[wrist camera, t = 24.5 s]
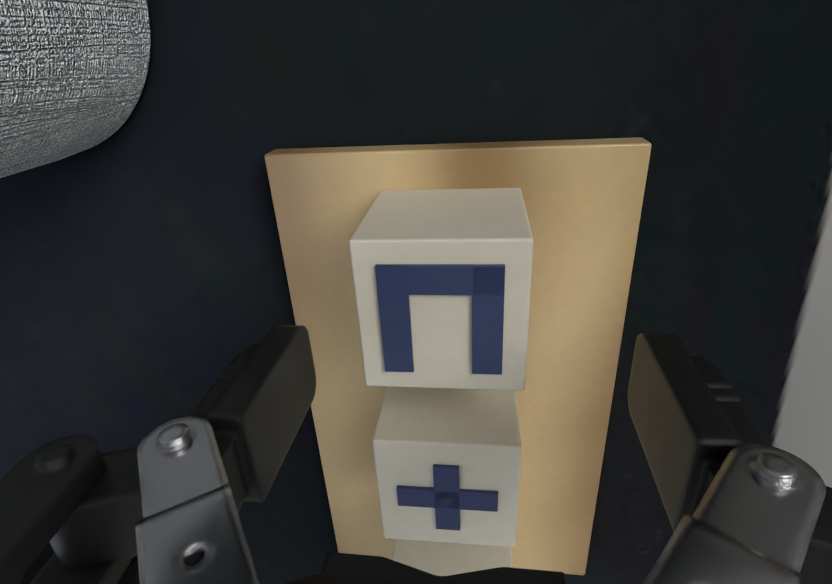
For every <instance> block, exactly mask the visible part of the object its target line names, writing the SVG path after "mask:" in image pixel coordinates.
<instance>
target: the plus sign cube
mask: <svg viewBox="0 0 832 584" xmlns="http://www.w3.org/2000/svg"><path fill="white" fill-rule="evenodd" d="M372 442H373V450H374V458H375V466H376V475H377V483H378V491H379V499H380V507H381V516H382V524H383V532H384V537H385V538H391V539H405V540H419V541H434V542H448V543H462V544H476V545H490V546H505V547H515V546H516V538H517V520H518V502H519V484H520V466H521V448H522V447H521V436H520V425H519V414H518V404H517V393H516V391H513V390H481V389H450V388H418V387H387V388H386V392H385V396H384V400H383V403H382V407H381V411H380V414H379V418H378V422H377V425H376V429H375V433H374V436H373V440H372Z"/></svg>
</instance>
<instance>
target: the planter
mask: <svg viewBox="0 0 832 584" xmlns="http://www.w3.org/2000/svg"><path fill="white" fill-rule="evenodd" d="M150 46H151V33H150V19H149V11H148V4H147V0H0V178H2V177H5V176H9V175H12V174H15V173H18V172H22V171H25V170H28V169H32V168H35V167H38V166H41V165H45V164H48V163H51V162H55V161H58V160H61V159H63V158H66V157H68V156H71V155H74V154H76V153H79V152H81V151H84V150H86V149H89V148H91V147H94V146H96V145H98V144H100V143H101V142H103V141H104V140H106V139H107V138H109V137H110V136H111V135H113V134H114V133H115V132H116V131H117V130H118V129H119V128H120V127H121V126H122V125H123V124H124V123H125V122H126V120H127V119H128V118H129V116H130V115H131V113H132V111H133V110H134V108H135V106H136V104H137V102H138V100H139V98H140V96H141V93H142V91H143V88H144V84H145V81H146V77H147V71H148V66H149V58H150Z"/></svg>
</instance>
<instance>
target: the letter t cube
mask: <svg viewBox="0 0 832 584" xmlns="http://www.w3.org/2000/svg"><path fill="white" fill-rule="evenodd" d="M391 560H394V561H397V562H399V563H402V564H405V565H408V566H411V567H413V568H416V569H419V570H422V571H425V572H428V573H430V574H433V575H437V576H449V575H455V574H461V573H467V572H474V571H480V570H486V569H492V568H498V567H510V568H513V567H512V549H511V547H505V546H490V545H476V544H462V543H448V542H434V541H419V540H405V539H394V545H393V551H392V557H391Z"/></svg>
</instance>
